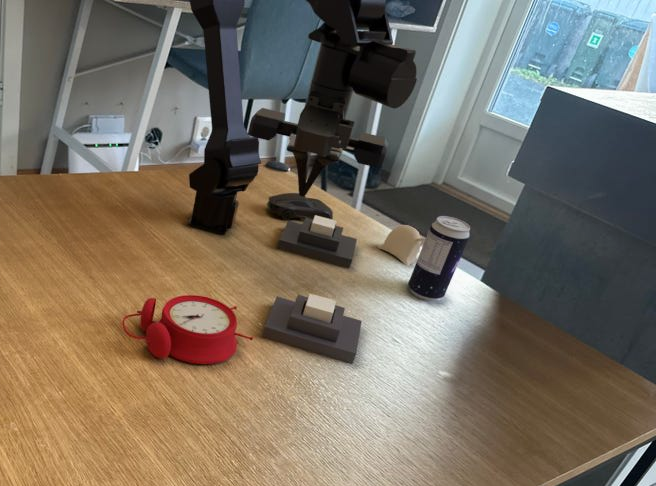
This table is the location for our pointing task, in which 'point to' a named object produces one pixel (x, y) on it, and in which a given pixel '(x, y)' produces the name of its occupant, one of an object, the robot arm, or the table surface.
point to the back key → (323, 226)
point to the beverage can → (439, 258)
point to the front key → (319, 308)
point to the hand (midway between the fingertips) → (302, 195)
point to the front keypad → (313, 330)
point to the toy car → (298, 207)
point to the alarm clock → (190, 329)
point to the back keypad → (318, 244)
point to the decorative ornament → (403, 243)
